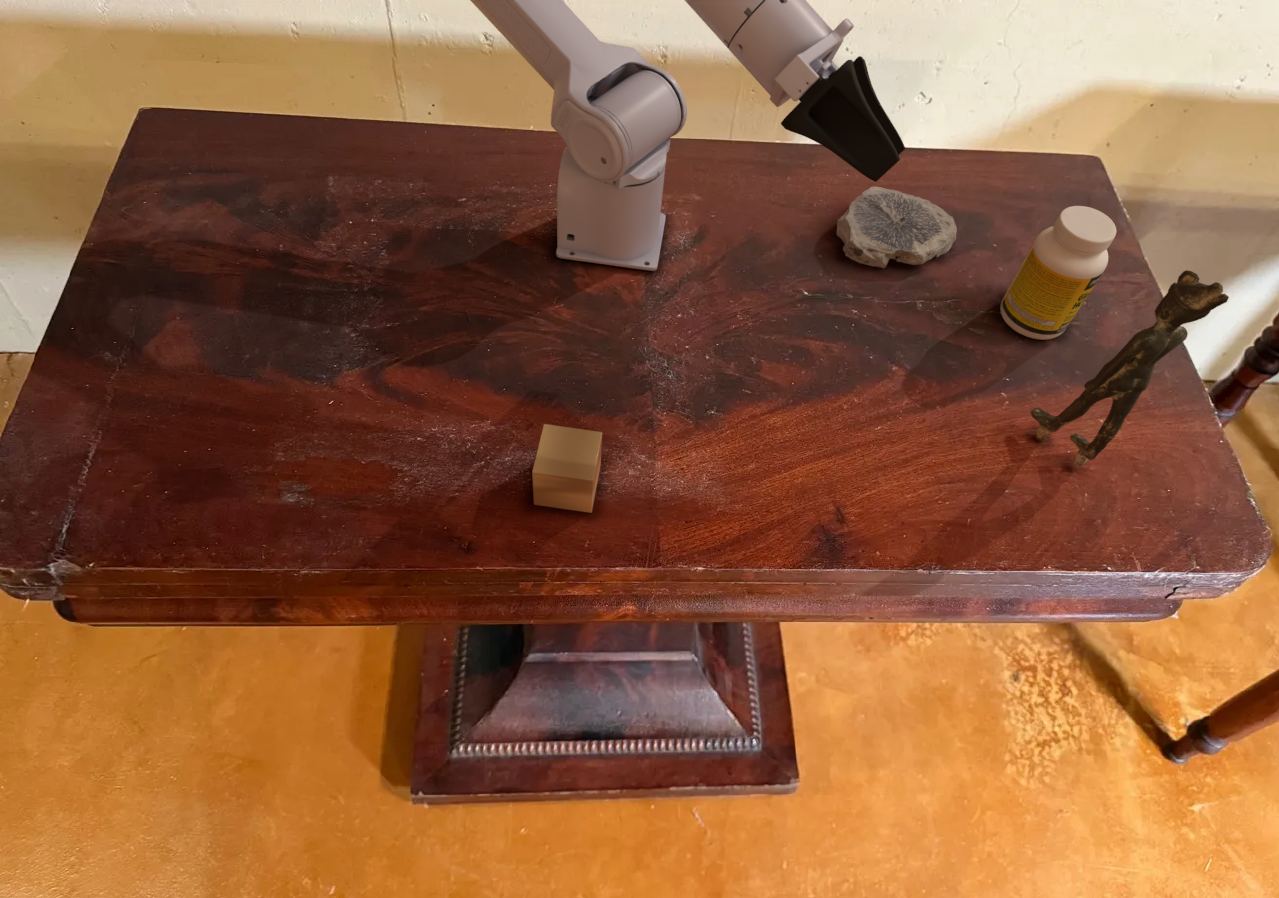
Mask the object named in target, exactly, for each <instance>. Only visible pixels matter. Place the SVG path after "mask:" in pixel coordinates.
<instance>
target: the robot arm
mask: <svg viewBox="0 0 1279 898" xmlns="http://www.w3.org/2000/svg"><path fill="white" fill-rule="evenodd" d="M469 1H470V2H471V3H472V4H473V5H474V6H475V7H476V8H477V10H479V12H480V13H481V14H482V15H483V16H484V17H485V18H486V19H487V20H488V21H489V22H490V23H491V24H492V26H493V27H495V29H496V30H497V31H498V32H499V33H500V34H501V35H502V36H503V37H504V38H505V40H506V41H508V43H509V44H510V45H511V46H512V48H514V49H515V50H516V51H517V52H518V53H519V55H521V56H522V58H524V60H525V61H526V62H527V63H528V64H529V65H530V66H531V68H533V70H535V72H536V73H537V74H538V75H539V76H540V77H541V78H542V79H543V80H544V81H545V82H546V83H547V85H549V87H550V88H551V89H552V90H553V96H552V103H551V111H550V127H552V129H553V130H554V131H555V132H556V133H557V134H558V135H559V136H560V137H561V139H562V140H563V142H564V143H565V145H566V147H564V149H563V151H562V155H561V159H560V163H559V168H558V177H557V186H556V187H557V189H556V236H557V237H556V238H557V239H556V240H557V241H556V242H557V244H556V245H557V247H556V250H555V256H556V257H557V258H559V259H564V260H570V261H578V262H584V263H593V264H600V265H607V266H614V267H621V268H627V269H635V270H641V271H642V270H644V271H650V272H653V271H656V270H658V266H659V260H660V254H661V249H662V242H663V236H664V230H665V224H666V217H667V216H666V214H665V213H663V212H662V203H663V193H664V184H665V175H666V166H667V165H666V163H667V154H668V152H669V151H670V146H671V138H672V137H674V136H677V135H678V133H680V132H681V130H683V128H684V126H685V124H686V121H687V118H688V117H687V116H688V105H687V100H686V97H685V94H684V91H683V89H682V88H681V86H680V84H679V82H678V81H677V80H676V79H675V78H674V76H673V75H672V74H671V73H669V72H668V71H667V70H665V69H663V68H661V67H660V66H657V65H655V64H652V63H651V62H649V61H648V60H646V59H645V57H643V56H642V55H641V54H640V53H639V51H638V50H637V49H636V48H633V47H630V46H625V45H620V44H613V43H608V42H603V41H601V40H600V39H599V38H598V37H597V36H596V35H595V34H594V32H592V31H591V30H590V29H589V28H588V27H587V25H586V24H585V23H584V22H583V21H582V20H581V19H580V17H578V16H577V15H576V14H575V12H574V11H573V10H572V8H571V7H569V6H568V5H567V4H566V2H564V0H469ZM684 1H685V3H686V4H687V5H688V6H689V7H690V8H691V9H692V11H694V13H695V14H696V15H697V16H698V18H700V19H701V21H703V23H704V24H705V25H706V27H708V28H709V29H710V30H711V32H713V34H714V35H715V36H716V37H717V38H718V39H719V40H720V41H721V43H722V44H723V45H724V46H725V47H726V48H727V49H728V50H729V52H730V53H731V54H732V55H733V56H734V57H735V58H736V59H737V61H738V62H739V63H740V64H741V65H742V66H743V67H744V68H745V69H746V70H747V71H748V73H749V74H750V75H751V76H752V77H753V78H754V79H755V80H756V81H757V83H758V84H759V85H760V86H761V87H762V88H763V89H764V90H765V92H767V94H768V95H769V100H770V101H771V103H772V104H773V105H774V106H775V107H777V108H779V107H782V105H784V104H785V103H786V102H788V101H790V100H792V101H793V102H797V101H799V103H797V105H796V106H795V107H794V108H793V109H792V110H791V111H790V112H789V113H788V114H787V115H786V116H785V117H784V118H783V119H782V120H781V122H780V125H781V126H782V127H783V128H784V129H785V130H787V131H789V132H792V133H793V134H798V135H800V136H802V137H805V138H807V139H809V140H812V141H814V142H815V143H817V144H819V145H821V146H823V147H824V148H826V149H827V150H829V151H831V152H832V153H833V154H835V155H836V156H837V157H839V158H840V159H841V160H843V161H844V162H845V163H847V164H848V165H849V166H851V167H852V168H853V169H854V170H856V171H857V172H859V173H860V174H861V175H863V176H865V177H866V178H867V179H869V180H870V181H873V182H874V183H877V182H878V181H879V180H880V179H881V178H882V177H883V176H884V175H886V174H887V172H888V171H890V170H891V169H892V168H893V167H894V166H895V165H896V164H897V163H898V162H899V161H900V160H901V157H900V154H901V153H903V152H904V151H905V150H906V147H905V144H904V142H903V140H902V137H901V135H900V134H899V132H898V131H897V129H896V128H895V126H894V124H893V122H892V121H891V119H890V117H889V115H888V114H887V113H886V110H885V109H884V107H883V106H882V104H881V102H880V100H879V98H878V96H877V94H876V91H875V89H874V87H873V84H872V81H871V78H870V73H869V71H868V67H867V66H868V65H867V63H866V60H865V58H863V56H860V55H859V56H857V57H856V58H855V59H854V60H852V59H847V60H846V61H845V62H843V63H842V64H841V65H840V66H838V65H837V64H836V63H835V62H834V61H833V60H834V58H835V56H836V54H837V53H838V51H839V49H840V48H841V45H842V44H843V42H844V40H845V37H846V36H847V35H848V34H849V33H850V32H851V31H852V30H853V29H854V27H855V24H853V22H852V21H851V20H850V19H849V18H844V19H843V20H842V21H841V22H839V24H838V25H837V26H836V27H835V28H834V29H832V28H831V27H830V26H829V25H828V23H827V22H826V21H825V20H824V19H823V18H822V17H821V16H820V14H819V13H818V12H817V11H816V10H815V9H814V8H813V7H812V5H811V4H810V3H809V2H808V1H807V0H684Z"/></svg>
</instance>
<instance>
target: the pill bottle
mask: <svg viewBox="0 0 1279 898" xmlns="http://www.w3.org/2000/svg"><path fill="white" fill-rule="evenodd" d="M1116 235H1117V226H1116V225H1115V223H1114V221H1113V220H1112V219H1111V218H1110V217H1109V216H1108V215H1107V214H1105V213H1103V212H1102V211H1100V210H1098V209H1096V208H1093V207H1089V206H1084V205H1072V206H1068V207H1066V208H1064V209H1063V210H1062V211H1061V212H1060V213H1059V215H1058V217H1057V218H1056V220H1055V222H1054V224H1053V226H1049V227H1047V228H1045V229H1044V230H1042V231H1040V232H1039V234H1038V235H1037V236H1036V238H1035V240H1034V241H1033V243H1032V244H1031V247H1030V248H1029V250H1028V252H1027V254H1026V255H1025V257H1024V259H1023V261H1022V263H1021V265H1020V266H1019V268H1018V270H1017V271H1016V274H1015V275H1014V277H1013V279H1012V281H1011V283H1010V284H1009V286H1008V288H1007V290H1006V291H1005V293H1004V296H1003V298H1002V299H1001V302H1000V306H999V307H1000V308H999V309H1000V314H1001V317H1002V319H1003V321H1004V322H1005V323H1006V324H1007V325H1008V326H1009V327H1010V328H1011V329H1012V330H1013V331H1015V332H1016V333H1018V334H1020V335H1022V336H1025V337H1027V338H1029V339H1033V340H1034V339H1035V340H1041V341H1042V340H1043V341H1044V340H1045V341H1046V340H1051V339H1056V338H1057V337H1059V336H1061V335H1062V334H1063V333H1064V332H1065V331H1066V330H1067V328H1068V327H1069V325H1071V323H1072V321H1073V320H1074V318H1075V317H1076V315H1077V313H1078V312H1079V310H1080V308H1081V307H1082V305H1083V304H1084V302H1085V301H1086V299H1087V298H1088V296H1089V295H1090V293H1091V292H1092V290H1093V289H1094V288H1095V286H1096V284H1097V283H1098V281H1099V279H1100V278H1101V276H1102V275H1103V273H1104V272H1105V270H1106V268H1107V266H1108V264H1109V253H1108V249H1109V247H1110V246H1111V244H1112V242H1113V241H1114V239H1115V238H1116Z"/></svg>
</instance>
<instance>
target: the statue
mask: <svg viewBox="0 0 1279 898" xmlns="http://www.w3.org/2000/svg"><path fill="white" fill-rule="evenodd" d="M1223 292H1224V287H1223V284H1222V283H1220V282H1217V281H1215V282H1213V283H1212V284H1206V283H1202V282H1200V277H1199V274H1197V273H1195V272H1194V271H1192V270H1184V271H1182V273H1180V274H1179V276H1178V277H1177V281H1174V282H1173V283H1172V284H1170V285H1169V288H1168V290H1167V293H1166V294H1165V295H1164V296H1163V297H1162V299H1161V300H1160V302H1159V303H1158V305H1157V306H1156V308H1155V310H1154V315H1155V319H1156V322H1155V323H1154V324H1153V325H1151V326H1150V327H1148V328H1145V329H1142V330H1140V331H1138V332H1136V333H1135V334H1133V336H1132V337H1131V339H1129V341H1128V342H1127V343H1126V344H1125V345H1124V347H1122V349H1120V350H1119V352H1118V353H1116V355H1115V356H1114V357H1113V358H1112V359H1110V360H1109V361H1108V362H1107V363H1105V364H1104V365H1103V367H1102V368H1101V369H1100V371H1098V373H1096V375H1095V376H1094V377H1093V378H1092V379H1090V380H1088V381H1086V382H1085V383H1084V385H1083V388H1084V390H1083V391H1082V392H1081V394H1080V395H1079V396H1078V397H1077V398H1075V399H1073V401H1072V402H1071V403H1070V404H1069V405H1068V406H1067V407H1066V408H1065V409H1063V410H1062V411H1061V412H1060V413H1059V414H1058V415H1054V414H1051V413H1049V412H1047V411H1045V410H1044V409H1042V408H1040V407H1037V408H1036V407H1034V408H1033V409H1032V410H1031V411H1030V415H1031V418H1033V419H1034V420H1035V421H1036V422H1038V424H1039V426H1038V428H1037V430H1036V431H1035V433H1034V437H1035V438H1036V440H1037V441H1039V442H1044V441H1045V440H1046V439H1047V438H1048V437H1049V436H1050V435H1051V434H1053V433H1056V432H1058V431H1059V430H1060V429H1061V428H1062V427H1064V426H1066V425H1068V424H1070V423H1071V422H1074V421H1076V420H1078V419H1079V418H1082V417H1083V416H1084V415H1085V414H1087V412H1089V410H1090V409H1091V408H1092V407H1093V406H1094V405H1095V404H1096V403H1098V402H1100V401H1103V400H1105V399H1108V398H1110V399H1111V398H1112V403H1111V407H1110V410H1109V413H1108V415H1107V416H1106V418H1105V420H1104V421H1103V423H1102V425H1101V426H1100V427H1099V430H1098V432H1097V434H1096V435H1095V437H1094V438H1093V440H1092V441H1091V442H1089V441H1088V440H1087V439H1086V438H1085V437H1084V436H1082V435H1080V434H1078V433H1073V434H1070V436H1069V440H1070V441H1071V442H1072V443H1073V444H1074V445H1075V446H1076V447H1077V448H1078V451H1077V452H1076V454H1075V456H1074V457H1073V458H1072V464H1073V465H1074V466H1075V467H1077V468H1080V467H1082V466H1085V465H1086V464H1087V462H1088V461H1094V459H1096V458H1097V457H1098V455H1099V454H1100V453H1101V452H1102V451H1104V450H1105V448H1106V447H1107V446H1108V444H1109V443H1110V442H1111V441H1112V440H1113V439H1114V438H1115V437H1116V435H1118V433H1119V432H1120V431H1121V429H1122V427H1123V424H1124V422H1125V420H1126V418H1127V417H1128V415H1129V414H1130V412H1131V411H1133V408H1134V407H1135V405H1137V402H1138V400H1139V399H1140V397H1141V396H1142V393H1143V392H1145V391H1146V390H1147V388H1148V387H1149V385H1150V383H1151V379H1152V376H1153V373H1154V369H1155V366H1156V364H1157V363H1158V362H1159V361H1160V360H1161V359H1162V358H1164V357H1165V356H1166V355H1168V354H1169V353H1170V352H1171V351H1173V350H1174V349H1176V348H1177V347H1178V346H1180V345H1181V344H1182V343H1183V342H1184V341H1186V340H1187V338H1188V330H1187V328H1186V327H1185V326H1182V325H1184V324H1189V323H1193V322H1196V321H1198V320H1202V319H1203V318H1206V317H1207V316H1208V315H1209V314H1210V313H1211V312H1212V311H1213V310H1214V309H1216V308H1217V307H1219V306H1222V305H1224V304H1226V303H1228V300H1229V299H1230V297H1229V295H1227V294H1226V293H1223Z"/></svg>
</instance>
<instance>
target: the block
mask: <svg viewBox="0 0 1279 898" xmlns="http://www.w3.org/2000/svg"><path fill="white" fill-rule="evenodd" d="M539 437H540V438H539V441H538V445H537V450H536V454H535V458H534V463H533V467H532V470H531V475H532V493H533V496H532V497H533V505H535V506H541V507H547V508H555V509H561V510H568V511H573V512H574V511H575V512H580V513H581V512H582V513H590V514H591V513H592V512H593V509H594V504H595V497H596V492H597V487H598V483H599V482H598V481H599V476H600V471H601V462H602V446H603V432H602V431H598V430H589V429H583V428H575V427H569V426H562V425H555V424H548V423H543V425H542V430H541V434H540V436H539Z"/></svg>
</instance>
